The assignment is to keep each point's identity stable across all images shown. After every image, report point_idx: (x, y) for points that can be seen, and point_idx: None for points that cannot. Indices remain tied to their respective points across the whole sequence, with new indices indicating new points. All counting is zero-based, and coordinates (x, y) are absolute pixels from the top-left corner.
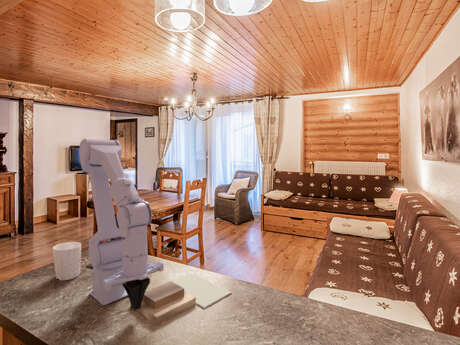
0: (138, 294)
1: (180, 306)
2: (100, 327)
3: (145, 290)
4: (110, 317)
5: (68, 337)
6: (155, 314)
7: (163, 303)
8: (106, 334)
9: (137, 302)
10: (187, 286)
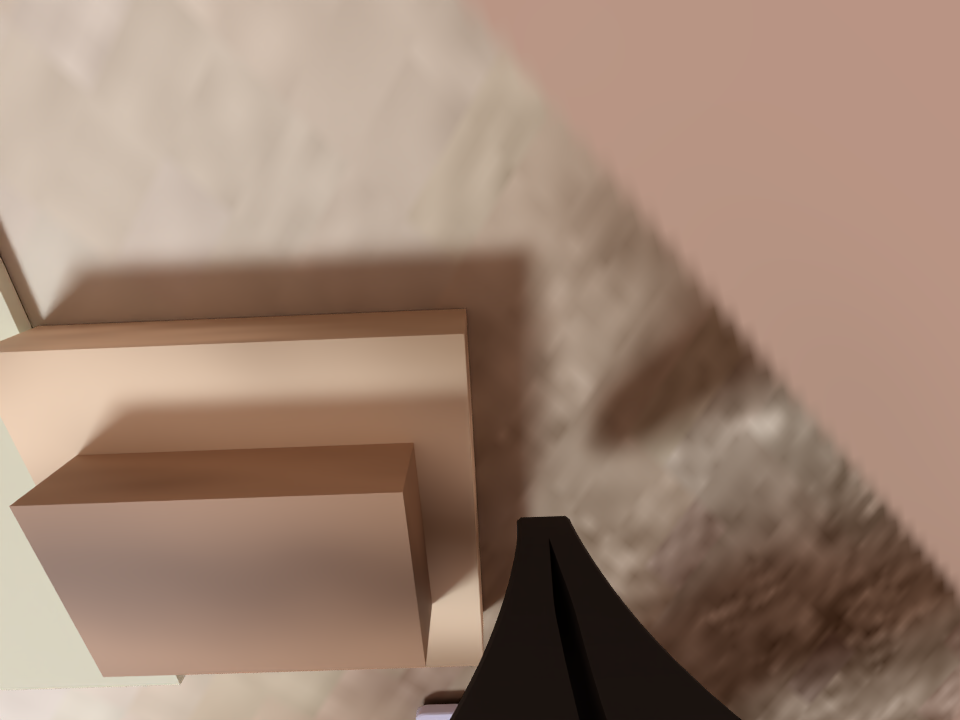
0: (586, 642)
1: (184, 339)
2: (740, 541)
3: (488, 659)
4: (640, 588)
5: (903, 570)
6: (448, 378)
7: (314, 458)
8: (763, 460)
9: (571, 565)
10: (10, 572)
